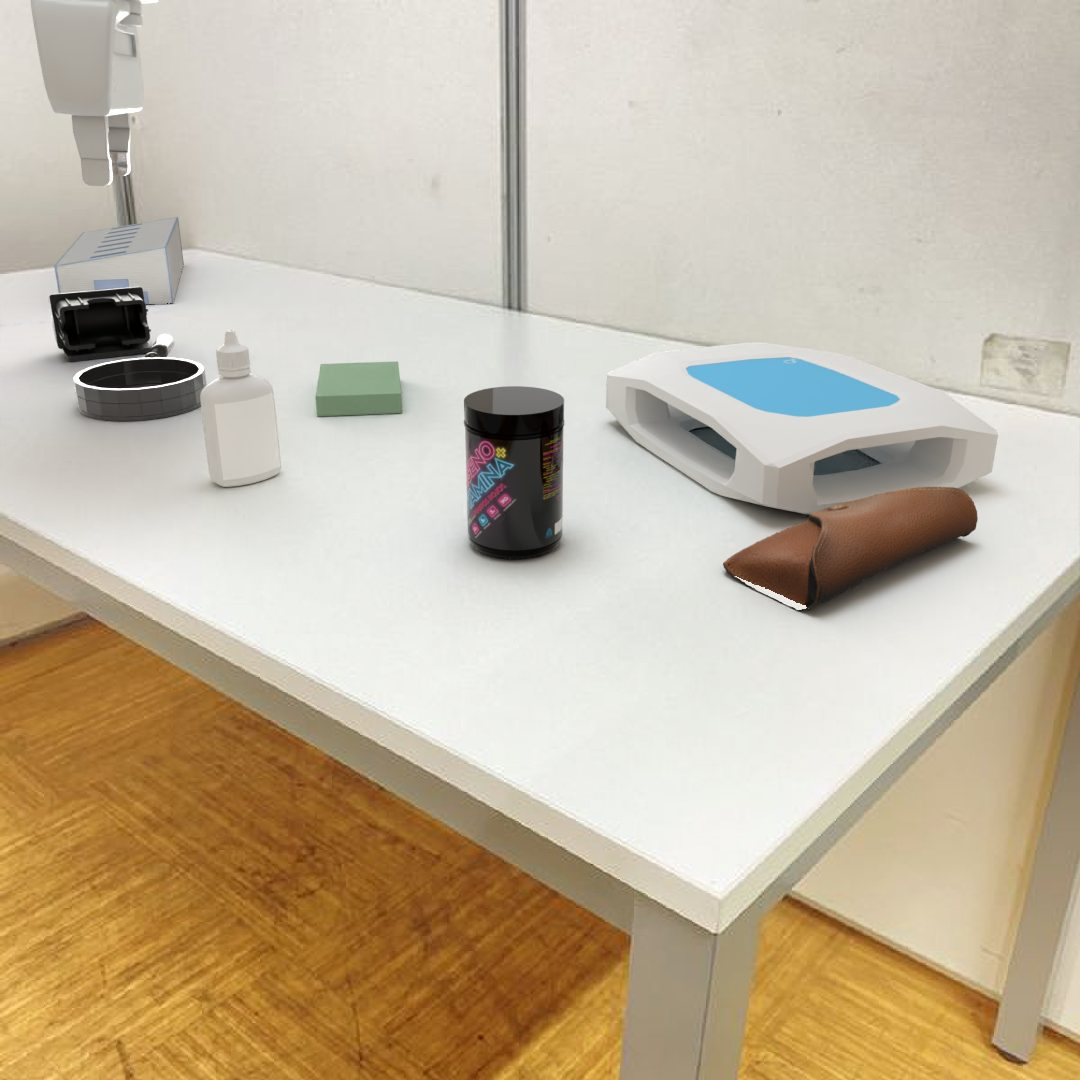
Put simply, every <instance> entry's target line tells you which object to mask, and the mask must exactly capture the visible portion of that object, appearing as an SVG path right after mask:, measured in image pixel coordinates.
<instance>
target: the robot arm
mask: <svg viewBox="0 0 1080 1080" xmlns="http://www.w3.org/2000/svg"><path fill="white" fill-rule="evenodd" d="M159 2H160V0H30V9H31V16H32V23H33V28H34V35H35V40H36V46H37V52H38V57H39V64H40V69H41V74H42V79H43V83H44V84H43V85H44V89H45V93H46V95H47V98H48V101H49V104H50V107H51V109H52V111H53V112H54V113H55V114H57V115H64V116H65V115H66V116H71V123H72V125H71V126H72V134H73V137H74V140H75V144H76V147H77V151H78V156H79V158H80V166H81V167H80V168H81V177H82V181H83V182H84V184H86V185H87V186H89V187H90V186H91V187H106V186H108V185H110V184H111V183H113V179H114V178H113V177H125V176H127V175H129V174H130V172H131V157H130V149H131V148H130V147H131V135H132V122H131V120H132V119H131V113H136V112H140V111H142V110H143V108H144V84H143V81H144V80H143V72H142V61H141V59H142V58H141V50H140V42H139V31H138V28H142V27H143V26H144V25H143V24H144V23H143V16H142V14H143V11H142V4H157V3H159Z"/></svg>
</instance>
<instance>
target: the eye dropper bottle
mask: <svg viewBox="0 0 1080 1080" xmlns="http://www.w3.org/2000/svg"><path fill="white" fill-rule="evenodd" d="M224 332H225V333H224V343H223V345H221V346H219V347H218V348H216V350H215V353H216V363H217V370H218V371H217V372H218V376H219V377H217V378H216V379H214V380H212V381H211V382H209V383H208V384H206V385H207V386H206V387H205V388H204V389H203V390H202V391H201V394H200V401H201V406H200V411H201V419H202V427H203V436H204V443H205V453H206V459H207V469H208V475H209V478H210V480H211V481H212V482H213V483H214V484H216V485H218V486H220V487H223V488H232V487H233V488H234V487H241V486H246V485H251V484H255V483H259V482H262V481H265V480H268V479H271V478H273V477H275V476H277V475H279V473H280V472H281V470H282V461H281V450H280V440H279V430H278V420H277V411H276V410H277V409H276V400H275V394H274V387H273V385H272V384H271V382H270V381H269V380H267V379H266V378H264V377H262V376H259V375H255V374H251V362H250V353H249V351H250V350H249V347H247V346H246V345H243V344H241V343H240V341H239V339H238V336H237V333H236V330H235V329H227V330H225V331H224Z"/></svg>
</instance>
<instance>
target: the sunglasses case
mask: <svg viewBox="0 0 1080 1080" xmlns="http://www.w3.org/2000/svg"><path fill="white" fill-rule="evenodd" d="M974 502H975V501H974V500H973V499H972V498H971V496H970V495H969V494H968V493H967V492H966V491H964V490H963V489H961V488H954V487H918V488H909V489H901V490H896V491H891V492H885V493H881V494H876V495H873V496H869V497H865V498H861V499H858V500H853V501H848V502H844V503H839V504H836V505H833V506H830V507H828V508H825V509H823V510H820V511H818V512H814V513H811V514H810V515H809V516H808V519H807V520H805V521H803V522H801V523H798V524H795V525H792V526H790V527H787V528H785V529H783V530H780V531H777V532H775V533H774V534H771V535H769V536H766V537H765V538H763V539H761V540H758V541H756V542H755V543H753V544H751V545H749V546H747V547H745V548H743V549H741V550H740V551H737V552H736V553H734V554H733V555H731V556H730V557H728V558H727V559H726V560H725V561H723V562H722V566H723V568H724V570H725V571H726V573H728V574H729V575H730V576H732V577H734V576H737V577H739V578H741V579H743V580H746V581H748V582H751V583H752V584H754V585H759V586H761V587H765V589H769V590H771V591H773V592H775V593H777V594H780V595H783V596H784V597H786V598H788V599H790V600H793V601H795V602H796V603H800V604H802V605H806V607H807V608H806V610H805V611H807V610H810V609H811V608H813V607H814V606H815V605H817V604H818V603H820V604H823V603H825V602H827V601H829V600H831V599H834V597H837V596H839V595H841V594H842V593H845V592H846V591H847V590H849V589H850V588H853V587H855V586H857V585H859V584H860V583H862V582H863V581H864V580H867V579H870V578H872V577H873V576H875V575H877V574H879V573H880V572H881V571H884V570H885V569H890V568H893V566H895V565H896V566H897V565H898V564H901V563H904V562H905V561H908V560H911V558H913V557H916V556H918V555H920V554H922V553H924V552H928V551H931V550H933V549H935V548H937V547H939V546H942V545H943V544H946V543H948V542H951V541H953V540H956V539H958V538H960V537H963V538H965V537H967V536H969V535H970V534H971V533H972V532H974V531H976V528H977V523H978V519H979V518H978V510H977V506H976V505H975V503H974Z"/></svg>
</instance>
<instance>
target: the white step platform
mask: <svg viewBox="0 0 1080 1080" xmlns="http://www.w3.org/2000/svg"><path fill="white" fill-rule="evenodd" d="M605 389H606V390H605V392H606V393H605V408H606V410H608V412H609V413H610V414H611V415H612V416H613V417H614V419H616V421H617V422H618V423H619V424H620V426H622V428H623V429H624V430H625V432H627V433H628V434H629V435H630V437H631V438H632V439H633V440H634V441H635V442H636V443H637V444H639V445H640V446H642V447H644V448H645V449H646V450H648V451H649V452H650V453H652V454H654V455H656V456H657V457H658V458H660V459H662V460H663V461H665V462H666V463H668V464H669V465H671V466H672V467H673V468H675V469H677V470H678V471H680V472H681V473H683V474H684V475H686V476H688V477H689V478H691V479H692V480H694V481H695V482H696V483H699V484H700V485H701V486H702V487H704V488H706V489H707V490H708V491H710V492H713V493H715V494H717V495H719V496H722V497H726V498H730V499H734V500H738V501H742V502H746V503H750V504H754V505H759V506H764V507H768V508H773V509H777V510H783V511H786V512H787V511H788V512H793V513H798V514H802V515H810V514H811V513H814V512H818V511H820V510H823V509H825V508H828V507H830V506H833V505H836V504H839V503H844V502H848V501H853V500H858V499H861V498H865V497H869V496H873V495H876V494H881V493H885V492H891V491H896V490H901V489H909V488H918V487H954V488H959V489H961V488H962V487H964V486H966V485H969V484H971V483H973V482H975V481H976V480H978V479H981V478H983V477H985V476H987V475H989V474H991V473H993V468H994V461H995V455H996V449H997V444H998V437H999V434H998V430H997V429H995V428H994V427H993V426H991V425H990V424H988V423H987V422H986V421H984V420H983V419H982V418H980V417H979V416H978V415H976V414H975V413H973V412H972V411H971V410H969V409H968V408H967V407H965V406H964V405H963V404H961V403H960V402H958V401H957V400H955V399H954V398H953V397H951V396H950V395H949V394H948V393H946V392H945V391H943V390H940V389H937V388H934V387H932V386H929V385H927V384H924V383H922V382H919V381H916V380H913V379H911V378H908V377H906V376H903V375H900V374H898V373H895V372H892V371H889V370H887V369H884V368H881V367H879V366H877V365H874V364H870V363H868V362H866V361H863V360H860V359H858V358H855V357H853V356H850V355H847V354H844V353H839V352H836V351H835V352H834V351H827V350H821V349H820V350H819V349H813V348H806V347H798V346H791V345H784V344H777V343H770V342H764V341H762V342H761V341H754V342H753V341H752V342H742V343H730V344H720V345H712V346H700V347H693V348H682V349H672V350H663V351H655V352H653V353H650V354H648V355H646V356H643V357H640V358H638V359H636V360H633V361H631V362H628V363H626V364H624V365H622V366H619V367H617V368H615V369H612V370H609V371H608V373H607V374H606V388H605ZM707 427H709V428H711V429H712V430H713V431H715V432H716V433H717V434H718V435H719V436H721V437H722V438H723V439H724V440H726V442H728V443H729V444H731V445H732V447H734V448H735V449H736V451H735V458H733V457H731V456H730V455H727V454H726V453H725V452H723V451H721V450H720V449H718V448H716V447H714V446H712V445H711V444H709V443H708V442H706V441H704V440H703V439H701V438H699V437H698V436H696V435H695V434H693V432H690V431H692V430H694V429H701V428H707ZM854 450H858V451H860V452H862V453H863V454H865V455H867V456H869V457H870V458H872V459H873V460H875V461H876V462H878V463H879V464H878V463H877V464H875V465H870V466H866V467H863V468H859V469H853V470H846V471H839V472H834V473H828V474H818V475H817V474H816V475H814V474H815V473H814V472H815V462H819V461H821V460H824V459H826V458H830V457H832V456H836V455H839V454H841V453H844V452H847V451H848V452H849V451H854Z"/></svg>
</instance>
